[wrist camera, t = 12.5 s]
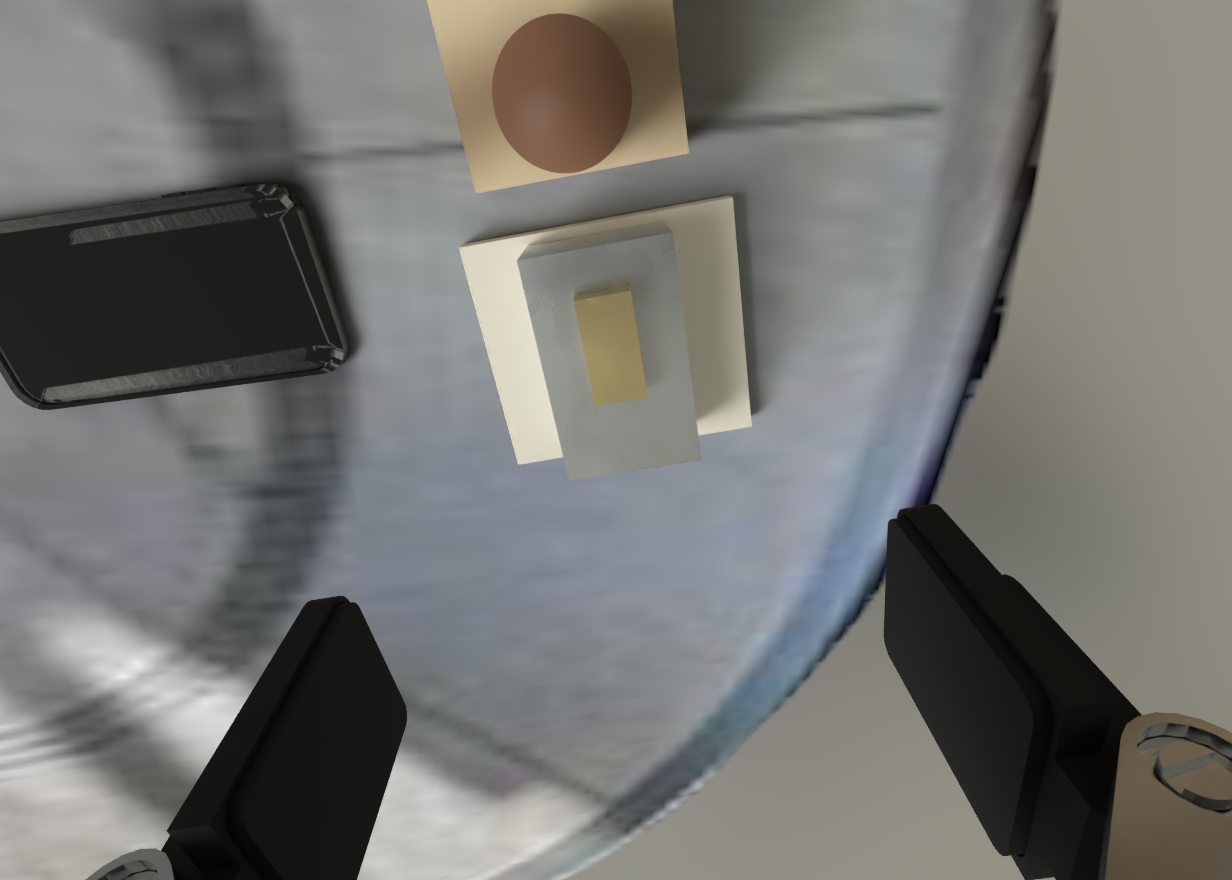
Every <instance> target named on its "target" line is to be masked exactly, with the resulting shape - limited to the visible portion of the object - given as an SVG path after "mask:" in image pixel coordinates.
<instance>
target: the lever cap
mask: <svg viewBox="0 0 1232 880" xmlns="http://www.w3.org/2000/svg"><path fill="white" fill-rule="evenodd" d="M517 264H518V268H519V272H520V276H521V281H522V285H523V289H524V293H525V298H526V302H527V306H528V310H529V314H530V319H531V323H532V327H533V331H534V336H535V340H536V344H537V348H538V352H539V357H540V361H541V365H542V369H543V374H544V378H545V382H546V386H547V391H548V395H549V399H550V403H551V407H552V412H553V416H554V420H555V424H556V429H557V433H558V437H559V441H560V446H561V450H562V454H563V458H564V462H565V467H566V471H567V475H568V479H569V481H573V480H580V479H586V478H592V477H598V476H605V475H611V474H617V473H623V472H630V471H636V470H642V469H648V468H655V467H661V466H667V465H673V464H679V463H686V462H692V461H698V460H701V453H700V445H699V437H698V429H697V421H696V413H695V405H694V397H693V389H692V381H691V373H690V365H689V357H688V349H687V341H686V333H685V325H684V317H683V309H682V301H681V293H680V285H679V277H678V269H677V261H676V253H675V245H674V237H673V232H672V231H671V229H670V228H669V227H668V225H667V224H666V223H665V221H664V220H663V221H657V222H652V223H646V224H641V225H635V226H630V227H624V228H619V229H613V230H608V231H602V232H597V233H591V234H586V235H580V236H575V237H570V238H564V239H559V240H553V241H548V242H542V243H537V244H531V245H527V247H526V248H525V250H524V251H523V252H522V254H521V255H520V257H519V258H518V260H517Z"/></svg>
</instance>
